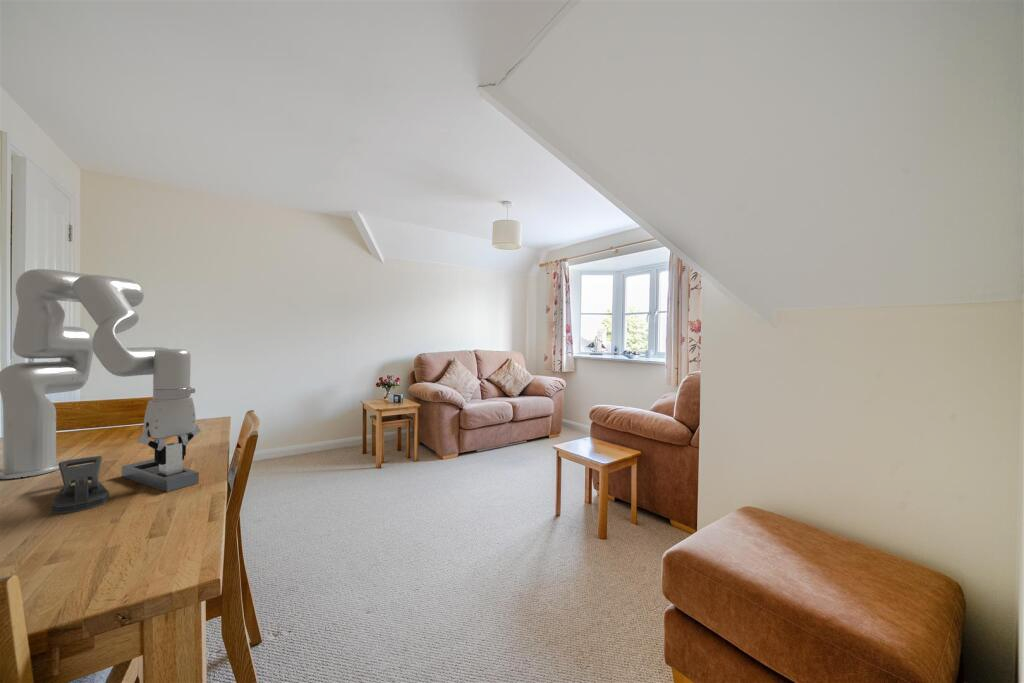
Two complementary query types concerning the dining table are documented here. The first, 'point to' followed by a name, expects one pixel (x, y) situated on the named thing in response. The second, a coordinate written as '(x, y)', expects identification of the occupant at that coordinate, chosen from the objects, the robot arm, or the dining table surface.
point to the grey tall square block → (172, 459)
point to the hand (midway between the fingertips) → (170, 460)
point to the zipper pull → (80, 486)
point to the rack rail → (159, 476)
